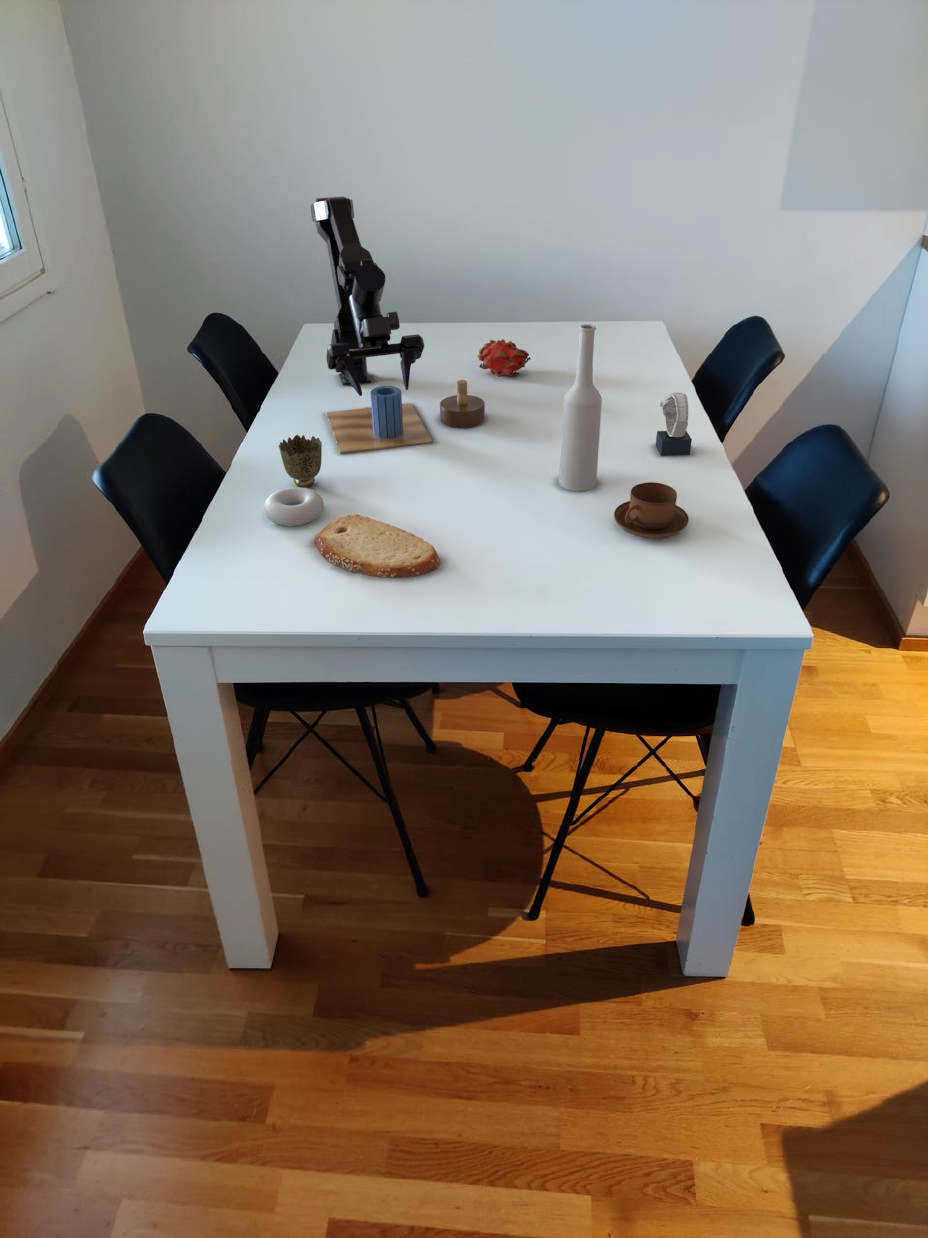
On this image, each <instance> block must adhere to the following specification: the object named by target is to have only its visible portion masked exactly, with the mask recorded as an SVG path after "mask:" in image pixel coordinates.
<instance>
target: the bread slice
mask: <svg viewBox="0 0 928 1238" xmlns="http://www.w3.org/2000/svg"><path fill="white" fill-rule="evenodd" d="M313 544H314V546H315V548H316V551H317V552H318V553H319V555H321V557H323V559H324V560H326V561H327V562H329V563H330V564H334V565H335V566H337V567H339V568H342V569H344V570H346V571H349V572H350V573H352V572H353V573H362V574H365V575H367V576H371V577H377V578H395V579H399V578H400V579H401V578H411V577H417V576H421V575H425V574H428V573H431V572H433V571H434V570H438V569H439V567H440V566H441V563H442V561H441V558H440V556H439V555H438V552H437V551H436V549H435V547H434V545H432V544H430V543H429V542H428V541H426V540H424V539H423V538H422V537H420V536H416V535H415V534H413V533H411V532H409V531H407V530H404V529H402V528H400V527H397V526H394V525H391V524H389V523H386V522H383V521H381V520H377V519H375V518H371V517H369V516H365V515H361V514H359V513H356V514H353V515H352V514H351V515H350V514H348V515H345V516H342V517H339V518H338V519H335V520H333V521H332V522H330V523H328V524H327V525H326V526H325V527H324V528H322V529H321V530H320V531H319V533H318V534H317V535H315V538H314V539H313Z"/></svg>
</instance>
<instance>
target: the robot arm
mask: <svg viewBox="0 0 928 1238" xmlns="http://www.w3.org/2000/svg"><path fill="white" fill-rule="evenodd" d="M314 201H315V202H313V203H311V204H310V214H311V220H312V222H313V223H315V227H316V231H317V234H318V235H319V236H320V238H322V240H323V241H324V242H325V243H326V246H327V253H328V258H329V263H330V269H331V276H332V281H333V287H334V291H335V297H336V303H337V309H338V312H337V315H336V318H335V320H334V323H333V329H332V333H331V340H330V343H329V345H328V347H327V349H326V350H327V351H326V365H327V369H329V370H331V371H332V370H335V373H338V377H339V379H340V382H341V385H342V386H350V385H351V387H352V388H353V389H354V390H355V392H356V393H357V394H358V396H359V397H362V396H363V391H362V386H361V385H362V384H370V383H372V378H371V376H370V374H369V373H368V361H367V358H373V357H380V356H381V357H382V356H389V355H398V354H399V358H400V359H401V360H400V362H399V363H400V364H399V365H400V370H401V376H402V383H403V386H404V390H405V391H408V390H409V386H410V374H411V367H412V365H413V364H415V363H416V361H417V360H419V359H421V357H422V356H423V355H422V354H423V351H424V349H425V342H424V338H423V337H422V336H421V335H420V334H419V333H417V334H409V335H402V336H401V338H400V342H397V343H389V341H391V335H392V331H395V330H396V331H398V330H399V329H400V327H401V325H400V319H399V314H398V311H389V312H387V313H386V314H385V316H384V315H383V314H382V310H381V305H380V302H381V301H382V297H383V292H384V289H385V285H386V273H385V272H384V271H383V269H381V267H379V265H378V264H377V263H376V262H374V259H373V256H372V254H371V252H370V251H369V250H367V249H366V247H365V248H364V246H362V243H361V241H360V237H359V235H358V231H357V227H356V225H355V221H354V219H355V210H354V209H355V208H354V202H353V199H350V198H349V197H346V196H344V195H343V196H329V197H315V200H314Z"/></svg>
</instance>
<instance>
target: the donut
mask: <svg viewBox="0 0 928 1238" xmlns="http://www.w3.org/2000/svg"><path fill="white" fill-rule="evenodd" d="M324 504H325V503H324V499H323V498H322V496H321V495H320V494H319V493H318V492H317V491H315V490H314V489H311V488H309V487H305V488H302V487H298V486H296V487H295V486H294V487H293V486H292V487H286V488H282V489H279V490H276V491H275V492H273V493H272V494H270V495H269V496H268V497H267V498H266V499H265V501H264V506H263V511H264V513H265V516H266V517H267V518H268V520H270V521H271V522H272V523H274V524H277V525H280V526H285V527H292V526H302V525H306V524H308V523H311V522H313V521H314V520H316V519H318V518H319V517H320V516H321V514H323V511H324Z"/></svg>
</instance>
